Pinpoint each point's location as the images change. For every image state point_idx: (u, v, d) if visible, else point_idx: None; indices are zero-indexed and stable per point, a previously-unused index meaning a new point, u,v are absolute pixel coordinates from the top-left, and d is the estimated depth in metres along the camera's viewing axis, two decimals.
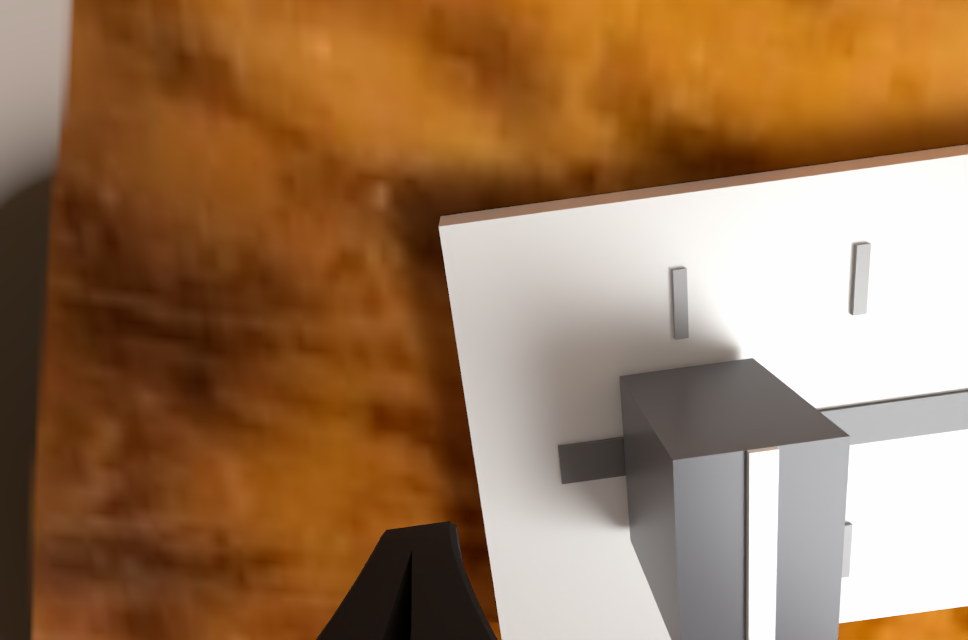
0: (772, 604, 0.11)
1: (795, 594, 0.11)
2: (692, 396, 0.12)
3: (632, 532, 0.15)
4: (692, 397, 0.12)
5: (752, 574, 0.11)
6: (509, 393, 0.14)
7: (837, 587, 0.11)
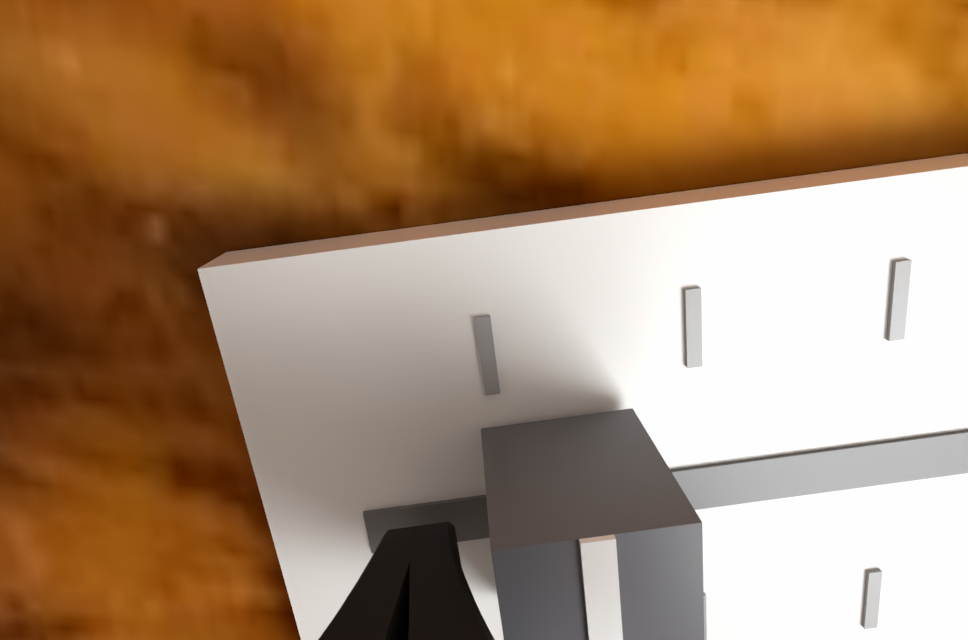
0: None
1: None
2: (547, 458, 0.11)
3: None
4: (547, 461, 0.11)
5: None
6: (301, 454, 0.12)
7: None
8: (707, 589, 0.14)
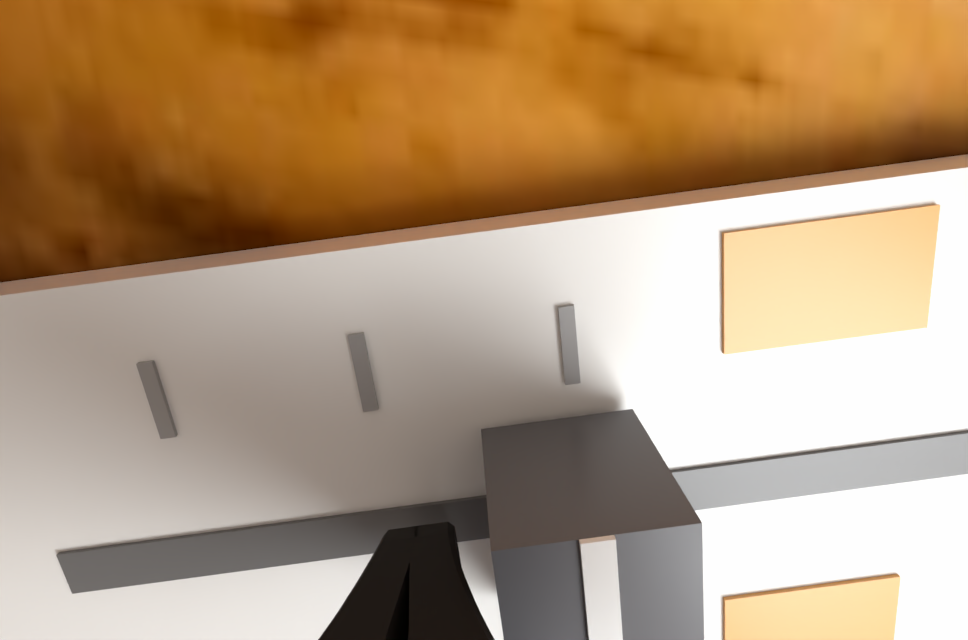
0: None
1: None
2: (547, 459, 0.11)
3: None
4: (547, 460, 0.11)
5: None
6: None
7: None
8: None
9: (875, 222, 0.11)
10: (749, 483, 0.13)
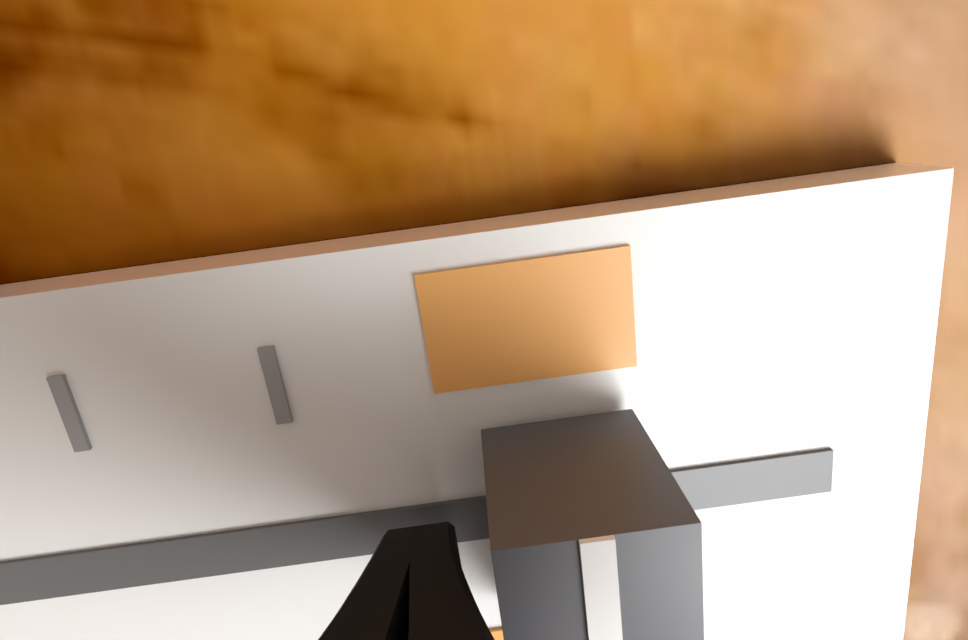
0: None
1: None
2: (547, 459, 0.11)
3: None
4: (547, 461, 0.11)
5: None
6: None
7: None
8: None
9: (570, 263, 0.11)
10: (482, 519, 0.13)
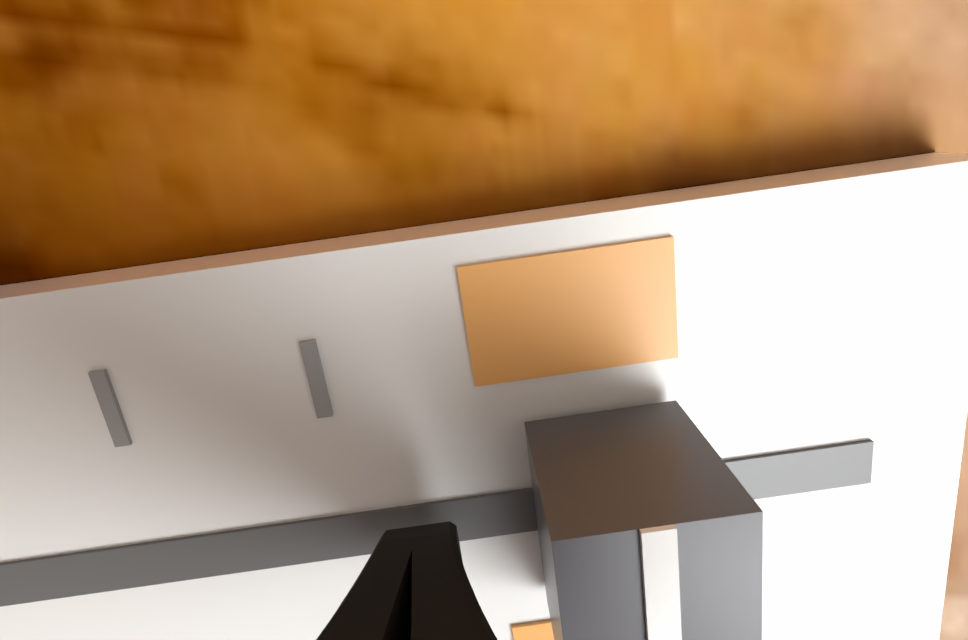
0: None
1: None
2: (596, 450, 0.11)
3: (546, 594, 0.13)
4: (596, 453, 0.11)
5: None
6: None
7: None
8: None
9: (612, 254, 0.11)
10: (521, 513, 0.13)
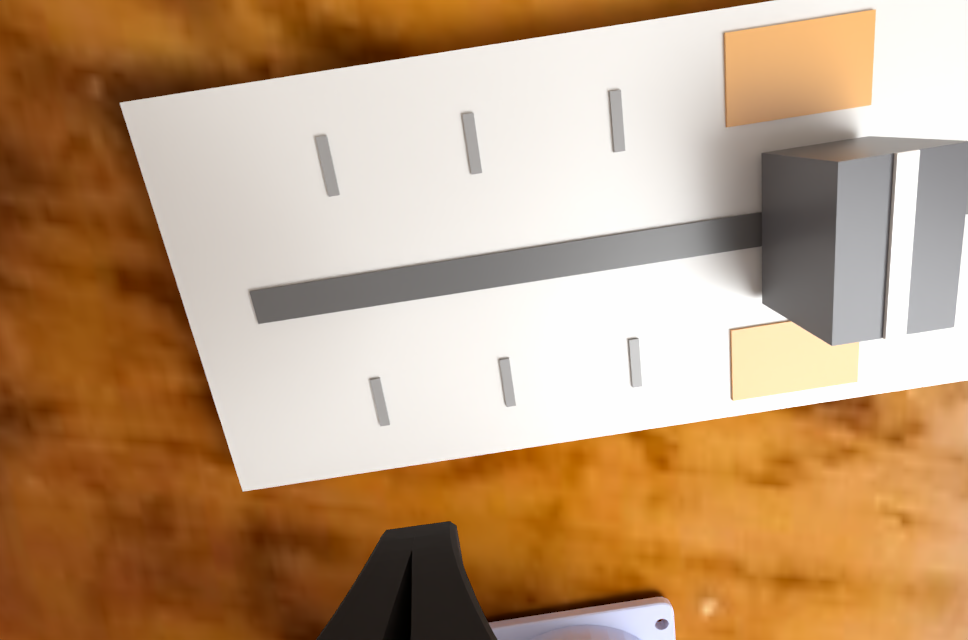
0: (906, 290, 0.15)
1: (924, 283, 0.15)
2: (831, 148, 0.16)
3: (766, 291, 0.18)
4: (832, 149, 0.16)
5: (892, 264, 0.14)
6: (202, 245, 0.17)
7: (955, 277, 0.15)
8: (510, 355, 0.19)
9: (831, 24, 0.16)
10: (746, 233, 0.18)
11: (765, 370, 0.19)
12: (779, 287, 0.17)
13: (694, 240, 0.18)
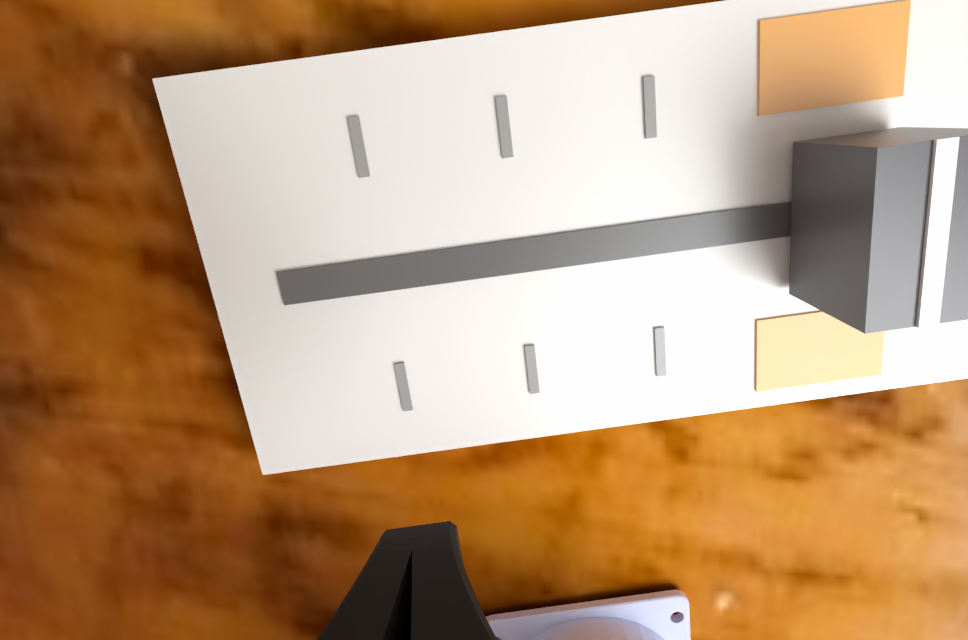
0: (941, 279, 0.15)
1: (959, 272, 0.15)
2: (865, 137, 0.16)
3: (794, 281, 0.18)
4: (866, 138, 0.16)
5: (927, 252, 0.14)
6: (230, 224, 0.17)
7: None
8: (535, 341, 0.19)
9: (866, 14, 0.16)
10: (775, 223, 0.18)
11: (789, 361, 0.19)
12: (808, 276, 0.17)
13: (723, 228, 0.18)
